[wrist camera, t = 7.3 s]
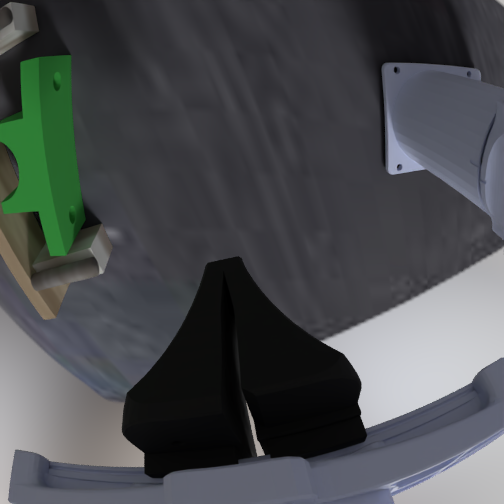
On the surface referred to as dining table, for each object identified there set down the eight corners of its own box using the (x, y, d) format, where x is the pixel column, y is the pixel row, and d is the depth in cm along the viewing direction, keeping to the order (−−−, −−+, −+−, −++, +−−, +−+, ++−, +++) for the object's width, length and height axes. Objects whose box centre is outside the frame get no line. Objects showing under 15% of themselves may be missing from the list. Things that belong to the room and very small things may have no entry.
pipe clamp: (22, 66, 13) (-18, 73, 9) (72, 54, 14) (39, 55, 10) (42, 221, 19) (16, 258, 15) (86, 219, 20) (65, 257, 16)
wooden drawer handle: (31, -18, 9) (-3, -28, 6) (123, 268, 22) (113, 308, 19) (-37, 30, 9) (-75, 34, 6) (59, 284, 22) (43, 322, 19)
